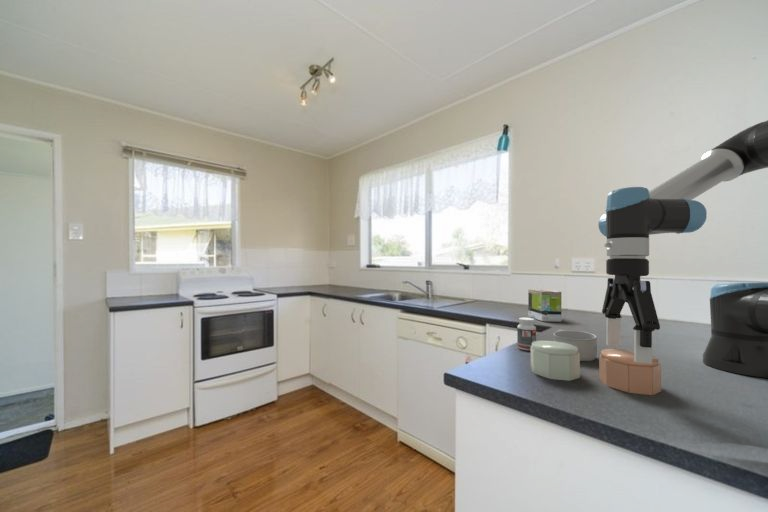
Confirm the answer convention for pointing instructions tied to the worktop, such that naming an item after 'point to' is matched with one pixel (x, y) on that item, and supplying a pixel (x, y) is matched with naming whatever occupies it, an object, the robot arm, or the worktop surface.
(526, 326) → the pill bottle
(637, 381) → the peach acorn nut
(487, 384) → the worktop surface
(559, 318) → the tea box
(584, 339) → the teacup
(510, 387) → the worktop surface
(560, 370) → the sage acorn nut
